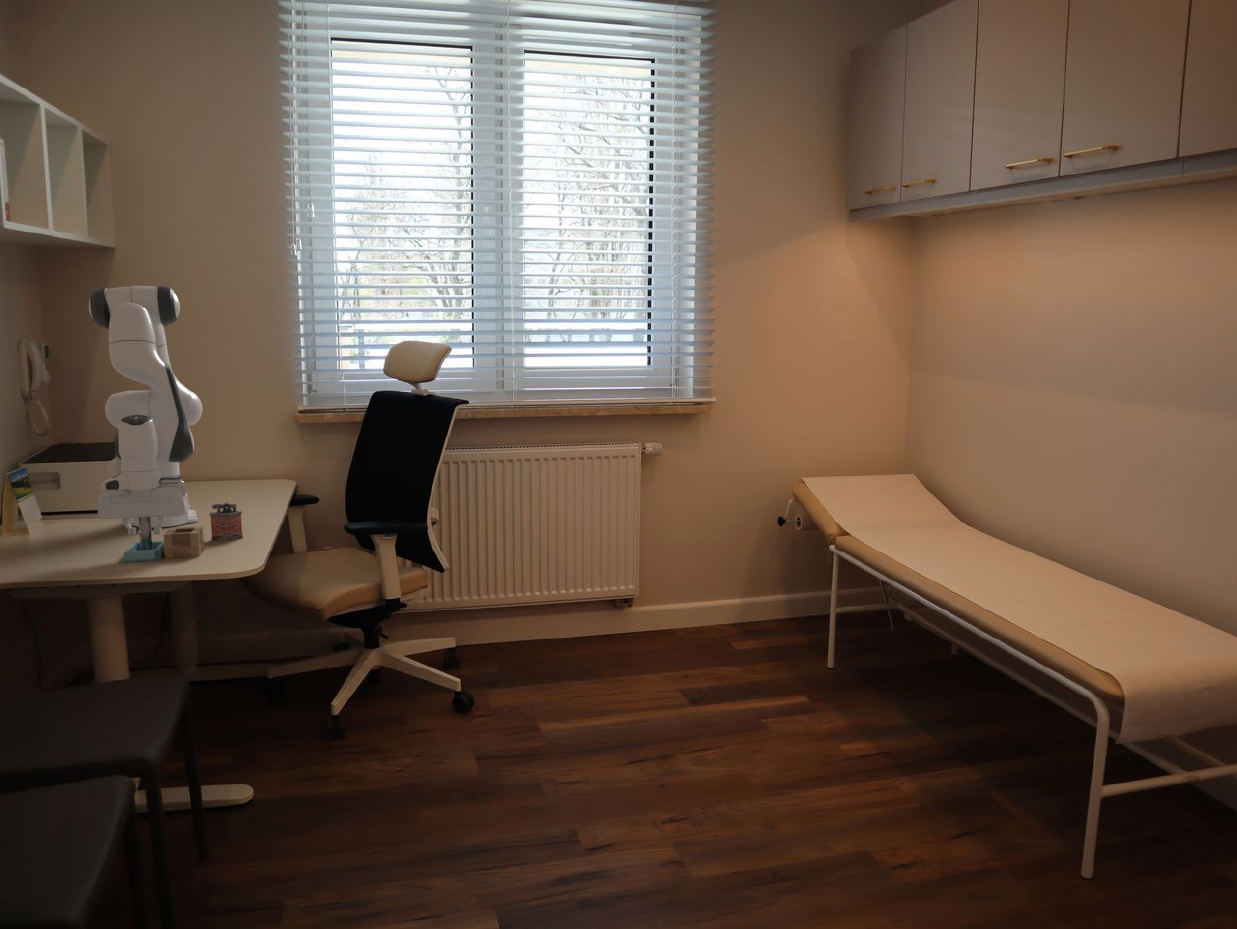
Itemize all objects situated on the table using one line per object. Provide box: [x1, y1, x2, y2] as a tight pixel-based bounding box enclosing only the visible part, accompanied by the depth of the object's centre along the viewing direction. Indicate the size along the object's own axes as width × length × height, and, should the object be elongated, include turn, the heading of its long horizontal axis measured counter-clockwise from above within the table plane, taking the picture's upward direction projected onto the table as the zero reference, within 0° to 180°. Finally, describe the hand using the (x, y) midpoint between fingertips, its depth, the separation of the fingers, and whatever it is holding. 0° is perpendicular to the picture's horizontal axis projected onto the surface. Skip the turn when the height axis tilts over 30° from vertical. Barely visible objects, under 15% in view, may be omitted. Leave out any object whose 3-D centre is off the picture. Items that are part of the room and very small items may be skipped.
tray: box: [123, 540, 165, 563], centre depth 251 cm, size 11×8×2 cm
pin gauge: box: [138, 517, 153, 551], centre depth 250 cm, size 3×3×11 cm
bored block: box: [163, 526, 206, 559], centre depth 253 cm, size 8×8×6 cm
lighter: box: [209, 501, 244, 542], centre depth 269 cm, size 8×3×10 cm, turn 111°
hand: (145, 534), depth 250 cm, fingers open, 5 cm apart
